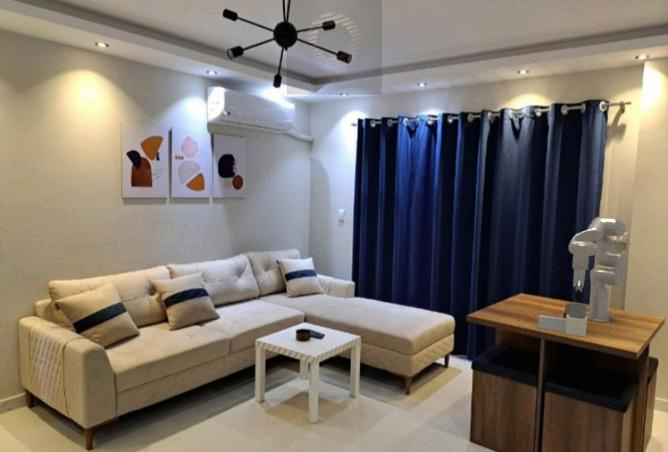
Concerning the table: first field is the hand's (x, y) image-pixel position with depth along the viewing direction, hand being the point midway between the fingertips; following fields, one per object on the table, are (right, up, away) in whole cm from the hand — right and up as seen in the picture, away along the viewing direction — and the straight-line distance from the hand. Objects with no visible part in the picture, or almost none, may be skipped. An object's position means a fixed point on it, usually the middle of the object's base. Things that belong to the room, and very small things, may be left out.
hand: (578, 296), depth 262 cm
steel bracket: (0, -15, +1) cm, 15 cm away
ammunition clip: (+6, -19, +20) cm, 28 cm away
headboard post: (-7, -20, +5) cm, 22 cm away
